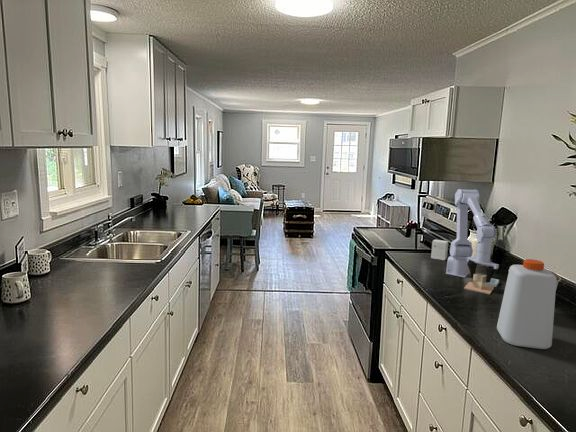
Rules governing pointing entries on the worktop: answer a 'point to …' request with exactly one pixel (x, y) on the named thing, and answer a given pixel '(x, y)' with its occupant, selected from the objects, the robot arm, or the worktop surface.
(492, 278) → the holder
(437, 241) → the small box
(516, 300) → the plastic bottle
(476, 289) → the mat
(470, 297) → the worktop surface
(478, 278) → the birch block
